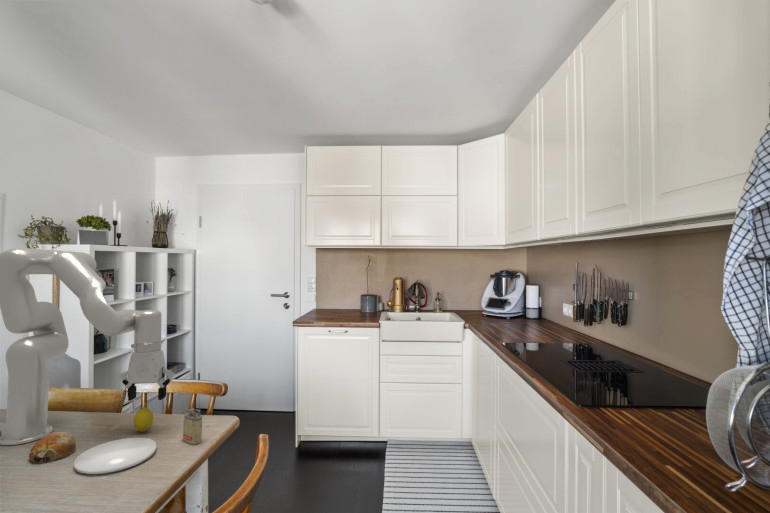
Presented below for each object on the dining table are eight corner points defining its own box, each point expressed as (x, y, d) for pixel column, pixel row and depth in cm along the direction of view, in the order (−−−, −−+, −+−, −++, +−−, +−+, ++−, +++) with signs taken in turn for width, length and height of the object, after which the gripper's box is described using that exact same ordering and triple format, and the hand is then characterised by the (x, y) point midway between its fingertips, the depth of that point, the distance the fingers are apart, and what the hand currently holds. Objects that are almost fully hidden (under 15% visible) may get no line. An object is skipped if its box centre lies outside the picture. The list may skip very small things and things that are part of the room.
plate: (54, 476, 96) (54, 470, 96) (106, 442, 115) (107, 437, 115) (129, 476, 96) (129, 470, 96) (169, 442, 115) (169, 437, 115)
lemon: (143, 436, 119) (144, 411, 119) (128, 434, 120) (130, 409, 121) (156, 429, 125) (158, 405, 125) (143, 427, 126) (144, 403, 126)
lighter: (180, 440, 117) (181, 408, 118) (191, 435, 121) (193, 404, 121) (193, 446, 114) (194, 413, 114) (204, 441, 117) (206, 409, 117)
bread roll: (76, 465, 108) (90, 435, 111) (38, 466, 99) (55, 433, 103) (54, 459, 111) (68, 430, 114) (16, 459, 102) (32, 427, 106)
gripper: (113, 350, 119) (112, 403, 119) (168, 349, 120) (167, 402, 120) (128, 345, 127) (127, 395, 126) (180, 344, 128) (179, 394, 127)
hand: (147, 399), depth 123 cm, fingers open, 9 cm apart
